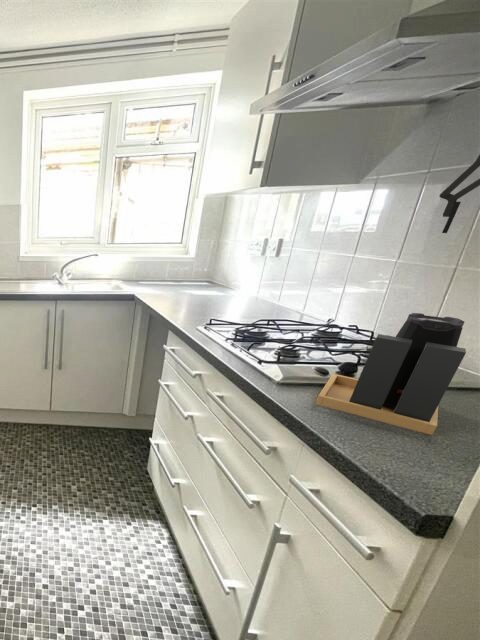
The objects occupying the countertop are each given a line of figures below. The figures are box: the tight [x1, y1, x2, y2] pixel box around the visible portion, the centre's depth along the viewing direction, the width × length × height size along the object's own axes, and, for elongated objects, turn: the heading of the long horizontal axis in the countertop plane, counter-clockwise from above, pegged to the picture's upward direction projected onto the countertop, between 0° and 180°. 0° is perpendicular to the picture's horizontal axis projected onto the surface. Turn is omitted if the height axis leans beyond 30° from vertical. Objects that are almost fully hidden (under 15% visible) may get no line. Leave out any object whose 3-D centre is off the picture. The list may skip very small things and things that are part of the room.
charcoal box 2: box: [393, 342, 467, 422], centre depth 80 cm, size 5×3×16 cm, turn 43°
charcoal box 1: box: [349, 333, 412, 410], centre depth 85 cm, size 5×3×16 cm, turn 43°
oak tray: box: [315, 373, 439, 436], centre depth 90 cm, size 18×18×3 cm
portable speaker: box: [383, 312, 465, 407], centre depth 86 cm, size 9×9×20 cm
